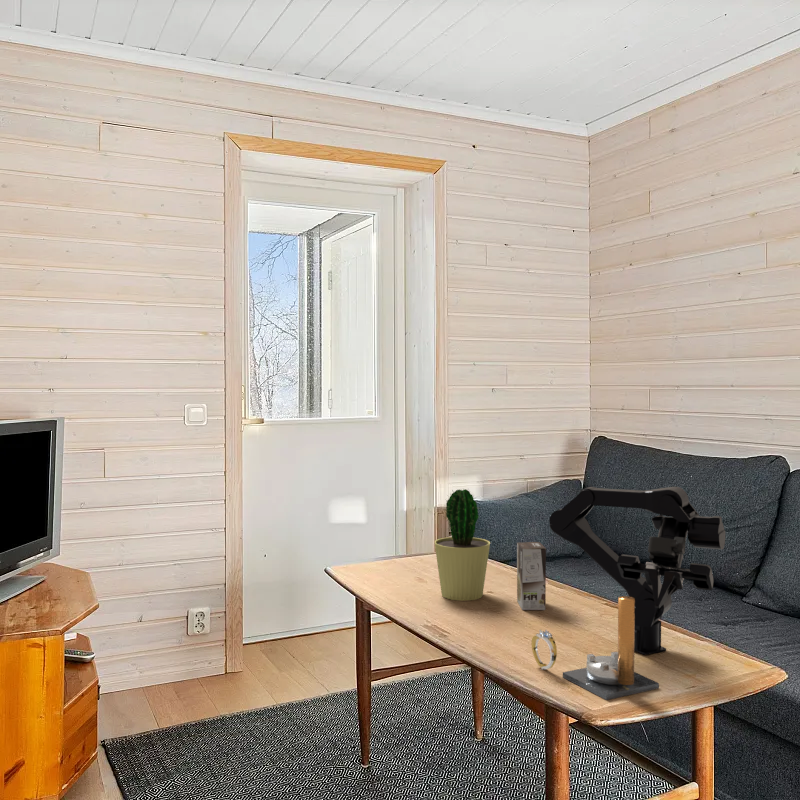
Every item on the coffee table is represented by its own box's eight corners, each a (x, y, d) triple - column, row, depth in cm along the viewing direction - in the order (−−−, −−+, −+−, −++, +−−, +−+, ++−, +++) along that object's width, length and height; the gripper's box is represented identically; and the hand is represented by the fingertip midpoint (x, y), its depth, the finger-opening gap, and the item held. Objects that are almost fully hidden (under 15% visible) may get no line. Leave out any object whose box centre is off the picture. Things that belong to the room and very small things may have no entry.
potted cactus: (489, 588, 232) (490, 483, 232) (490, 603, 217) (490, 491, 216) (435, 587, 234) (435, 483, 233) (432, 602, 219) (432, 490, 218)
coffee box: (546, 610, 211) (546, 548, 210) (521, 610, 211) (521, 548, 210) (540, 600, 220) (540, 541, 219) (516, 600, 220) (516, 541, 219)
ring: (559, 673, 165) (560, 634, 165) (546, 675, 164) (546, 636, 164) (541, 662, 172) (541, 625, 172) (528, 664, 171) (528, 626, 171)
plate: (613, 667, 169) (613, 661, 169) (658, 688, 158) (658, 682, 158) (562, 677, 163) (562, 671, 163) (606, 700, 152) (606, 694, 152)
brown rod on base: (578, 670, 164) (579, 586, 163) (618, 666, 166) (619, 583, 166) (608, 692, 152) (608, 602, 152) (651, 687, 154) (651, 598, 154)
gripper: (620, 516, 175) (603, 579, 166) (712, 526, 165) (700, 592, 156) (629, 546, 182) (614, 607, 173) (718, 557, 172) (707, 622, 163)
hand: (657, 607), depth 166 cm, fingers closed
